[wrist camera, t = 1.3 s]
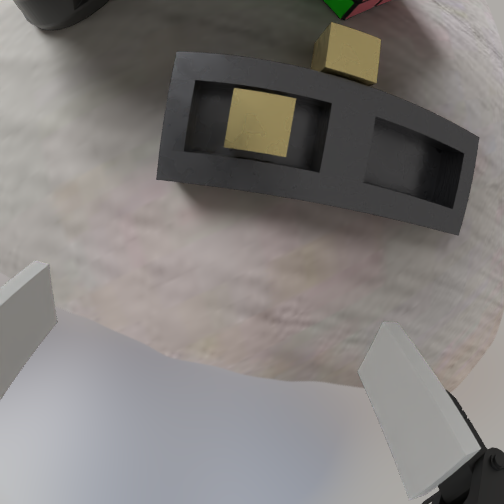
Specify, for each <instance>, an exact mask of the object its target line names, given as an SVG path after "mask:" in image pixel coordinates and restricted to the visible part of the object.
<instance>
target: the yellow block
mask: <svg viewBox="0 0 504 504" xmlns="http://www.w3.org/2000/svg"><path fill="white" fill-rule="evenodd" d="M380 45H381V39H379V38H377V37H374V36H372V35H369V34H366V33H363V32H361V31H358V30H355V29H352V28H349V27H346V26H343V25H339V24H336V23H333V22H331V23H330V24H329V26H328V27H327V28H326V29H325V31H324V32H323V33H322V34H321V36H320V37H319V38H318V40H317V41H316V42H315V44H314V51H313V57H312V63H311V69H312V70H316V71H320V72H323V73H327V74H331V75H334V76H338V77H341V78H345V79H348V80H351V81H354V82H357V83H360V84H363V85H366V86H370V85H373V84H376V83H377V75H378V66H379V56H380Z"/></svg>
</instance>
